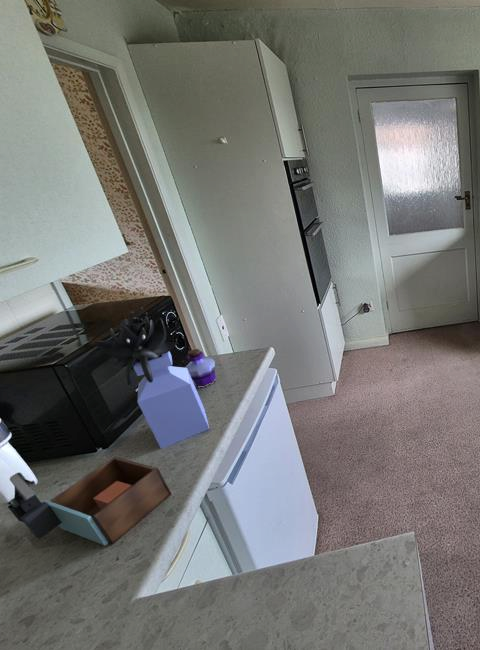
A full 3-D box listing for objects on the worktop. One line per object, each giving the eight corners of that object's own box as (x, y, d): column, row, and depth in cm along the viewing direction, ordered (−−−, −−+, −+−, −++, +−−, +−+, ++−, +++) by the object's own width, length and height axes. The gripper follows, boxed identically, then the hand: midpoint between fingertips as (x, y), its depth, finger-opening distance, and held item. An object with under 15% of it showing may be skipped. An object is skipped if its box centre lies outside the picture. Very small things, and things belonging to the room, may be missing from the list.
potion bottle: (184, 389, 121) (170, 356, 116) (208, 374, 128) (195, 342, 123) (204, 392, 118) (190, 359, 113) (227, 377, 125) (215, 345, 120)
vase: (146, 458, 93) (79, 331, 79) (147, 433, 102) (86, 315, 88) (212, 430, 101) (161, 310, 87) (207, 410, 109) (160, 297, 95)
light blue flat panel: (83, 564, 69) (61, 534, 66) (38, 544, 73) (16, 515, 70) (108, 542, 72) (89, 513, 69) (64, 525, 77) (43, 497, 73)
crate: (113, 544, 73) (95, 516, 69) (69, 526, 77) (50, 500, 74) (171, 494, 82) (158, 468, 79) (129, 481, 87) (115, 456, 84)
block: (103, 513, 78) (93, 498, 77) (126, 495, 82) (117, 480, 80) (117, 518, 77) (107, 503, 75) (140, 500, 81) (131, 485, 79)
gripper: (-80, 449, 64) (-17, 523, 72) (-32, 465, 60) (31, 543, 67) (-19, 420, 71) (34, 491, 78) (29, 432, 66) (80, 506, 73)
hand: (32, 514), depth 73 cm, fingers closed
